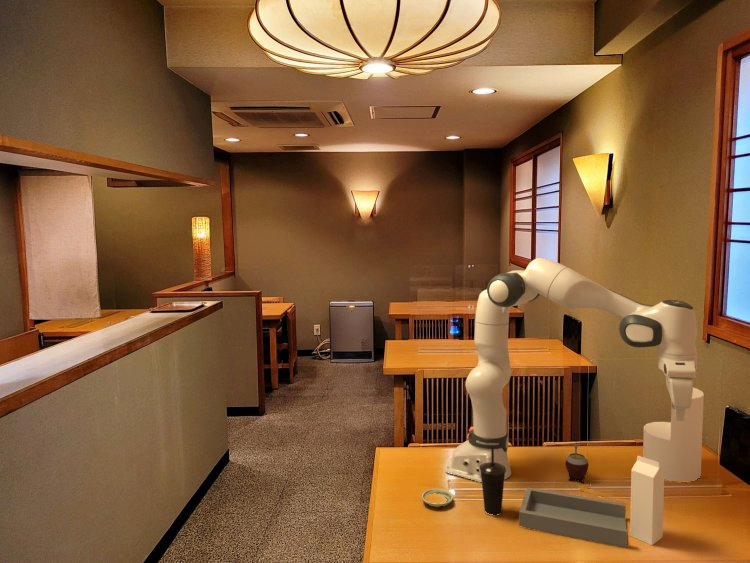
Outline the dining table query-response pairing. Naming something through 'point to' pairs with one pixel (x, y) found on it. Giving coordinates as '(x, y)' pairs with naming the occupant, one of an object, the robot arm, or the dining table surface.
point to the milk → (647, 500)
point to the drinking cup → (492, 485)
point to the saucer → (441, 492)
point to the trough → (574, 516)
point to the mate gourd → (576, 466)
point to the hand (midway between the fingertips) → (677, 413)
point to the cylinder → (677, 442)
